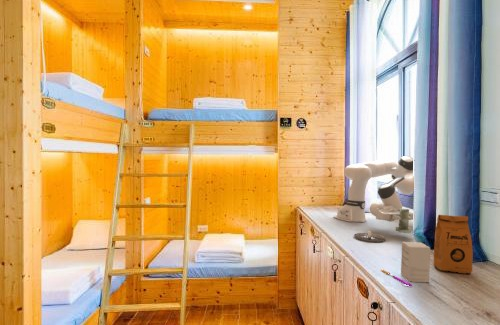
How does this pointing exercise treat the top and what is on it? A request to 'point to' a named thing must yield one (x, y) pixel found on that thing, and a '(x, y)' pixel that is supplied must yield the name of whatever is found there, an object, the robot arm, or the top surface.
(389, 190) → the robot arm
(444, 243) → the coffee package
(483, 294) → the top surface
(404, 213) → the green cylinder with base
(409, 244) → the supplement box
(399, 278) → the purple screwdriver
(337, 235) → the top surface
